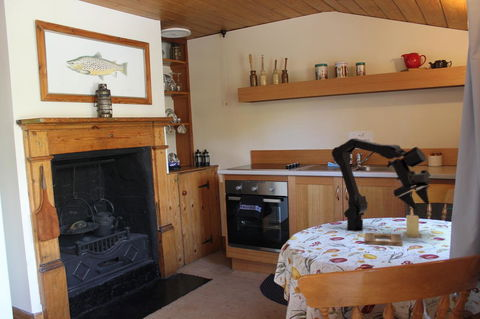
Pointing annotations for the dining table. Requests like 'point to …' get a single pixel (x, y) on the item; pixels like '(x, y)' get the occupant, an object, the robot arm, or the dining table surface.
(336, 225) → the dining table surface
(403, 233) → the grey square plate
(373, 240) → the rack plate
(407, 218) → the peg block
